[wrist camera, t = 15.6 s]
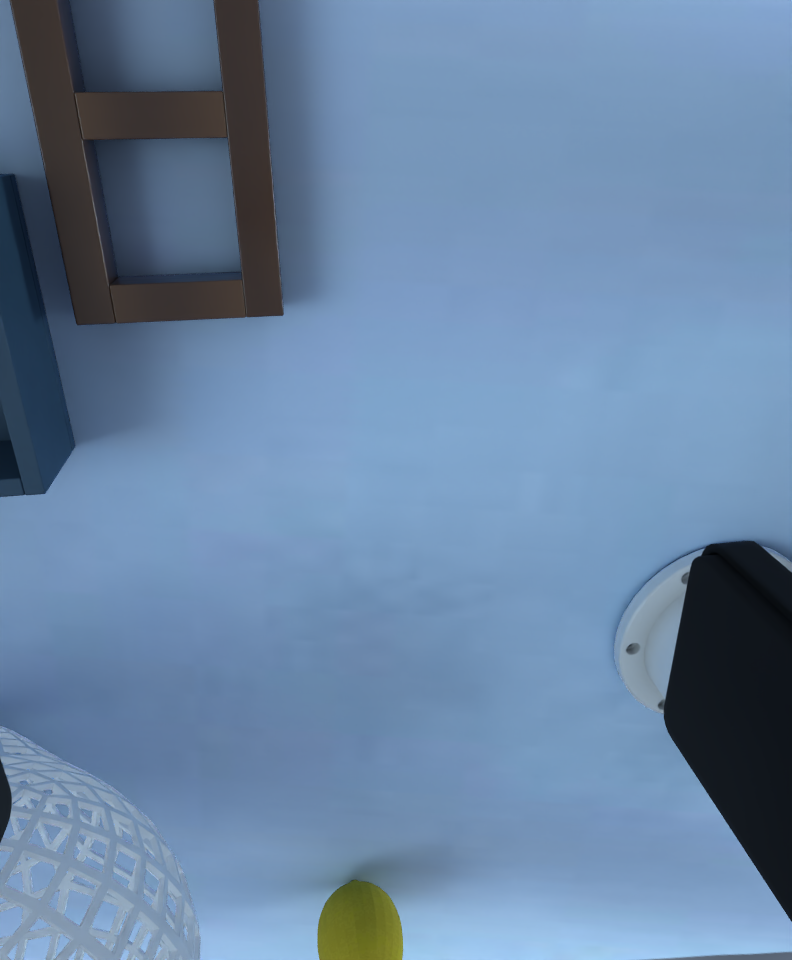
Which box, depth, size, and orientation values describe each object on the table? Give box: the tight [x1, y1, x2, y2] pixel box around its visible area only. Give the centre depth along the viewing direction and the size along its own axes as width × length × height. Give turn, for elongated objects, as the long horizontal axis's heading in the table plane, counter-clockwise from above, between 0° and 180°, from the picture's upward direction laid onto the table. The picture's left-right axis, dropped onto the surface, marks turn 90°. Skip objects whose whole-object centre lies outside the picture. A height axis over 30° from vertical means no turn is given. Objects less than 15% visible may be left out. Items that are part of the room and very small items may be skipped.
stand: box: [10, 0, 284, 325], centre depth 28 cm, size 9×16×2 cm, turn 0°
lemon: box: [318, 880, 403, 960], centre depth 47 cm, size 6×6×8 cm
